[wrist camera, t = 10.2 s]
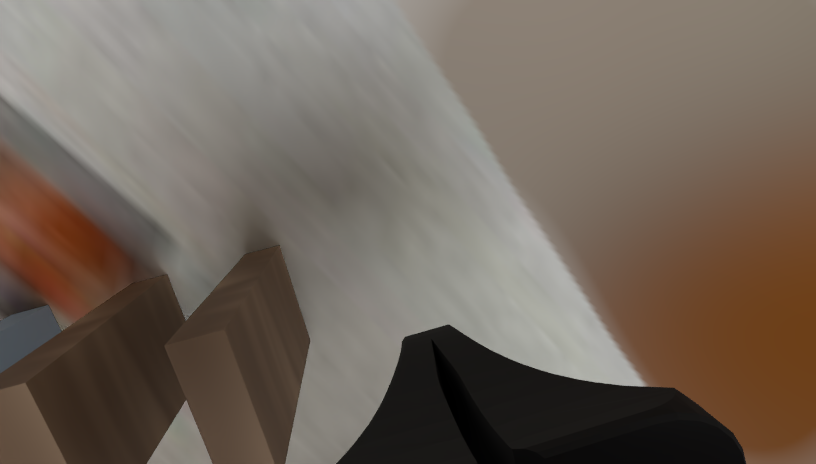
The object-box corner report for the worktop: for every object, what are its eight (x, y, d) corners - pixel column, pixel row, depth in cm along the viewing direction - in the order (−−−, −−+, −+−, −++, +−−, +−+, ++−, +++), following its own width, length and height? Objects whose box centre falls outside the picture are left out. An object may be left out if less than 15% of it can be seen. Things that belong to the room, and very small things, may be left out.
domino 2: (279, 245, 20) (224, 329, 12) (310, 340, 22) (281, 481, 13) (245, 254, 20) (164, 345, 12) (278, 349, 21) (226, 497, 13)
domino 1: (167, 274, 20) (25, 382, 11) (204, 369, 21) (102, 533, 12) (131, 283, 20) (-39, 400, 11) (171, 378, 21) (44, 551, 12)
